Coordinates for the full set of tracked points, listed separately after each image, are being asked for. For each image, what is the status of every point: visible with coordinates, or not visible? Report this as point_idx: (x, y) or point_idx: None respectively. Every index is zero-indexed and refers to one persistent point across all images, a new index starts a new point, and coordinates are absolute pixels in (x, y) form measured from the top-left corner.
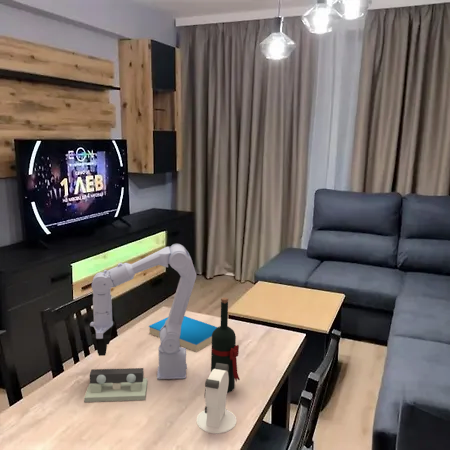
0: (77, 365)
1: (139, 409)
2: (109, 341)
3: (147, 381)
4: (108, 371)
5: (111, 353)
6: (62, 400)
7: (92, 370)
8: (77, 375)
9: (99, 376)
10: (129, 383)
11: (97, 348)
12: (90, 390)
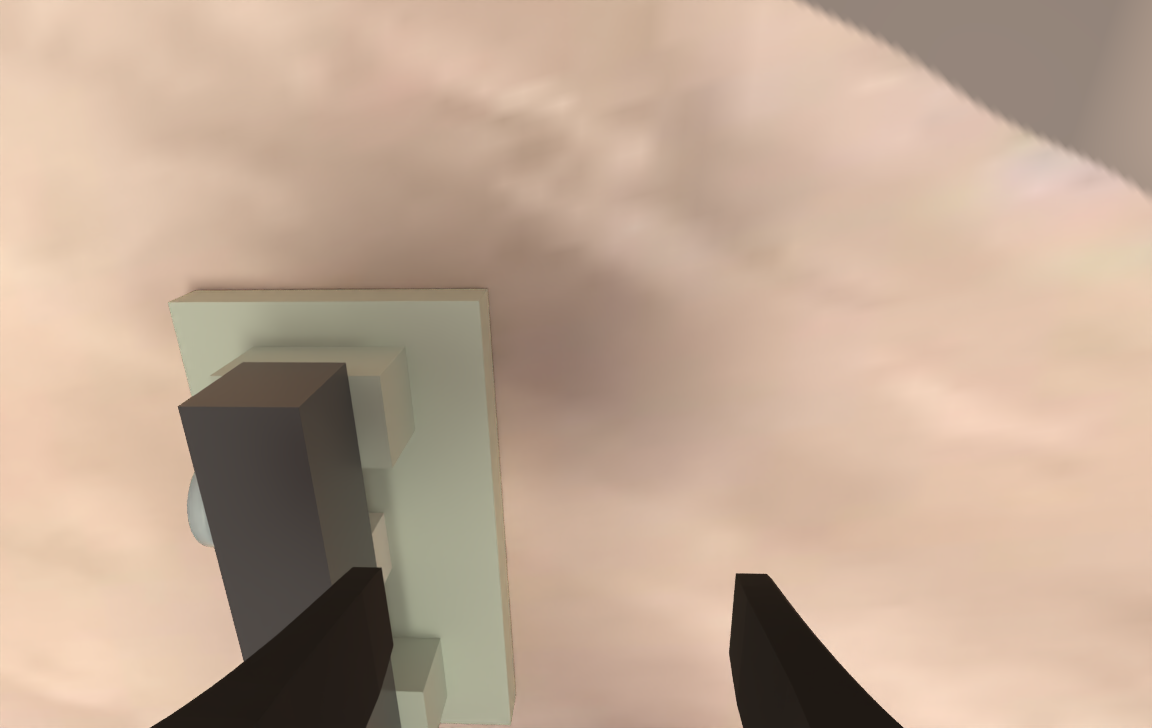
0: (891, 51)
1: (182, 662)
2: (737, 700)
3: (514, 698)
4: (279, 588)
5: (1086, 387)
6: (190, 71)
7: (278, 422)
8: (657, 110)
9: (192, 504)
10: (425, 619)
11: (257, 666)
12: (289, 335)
